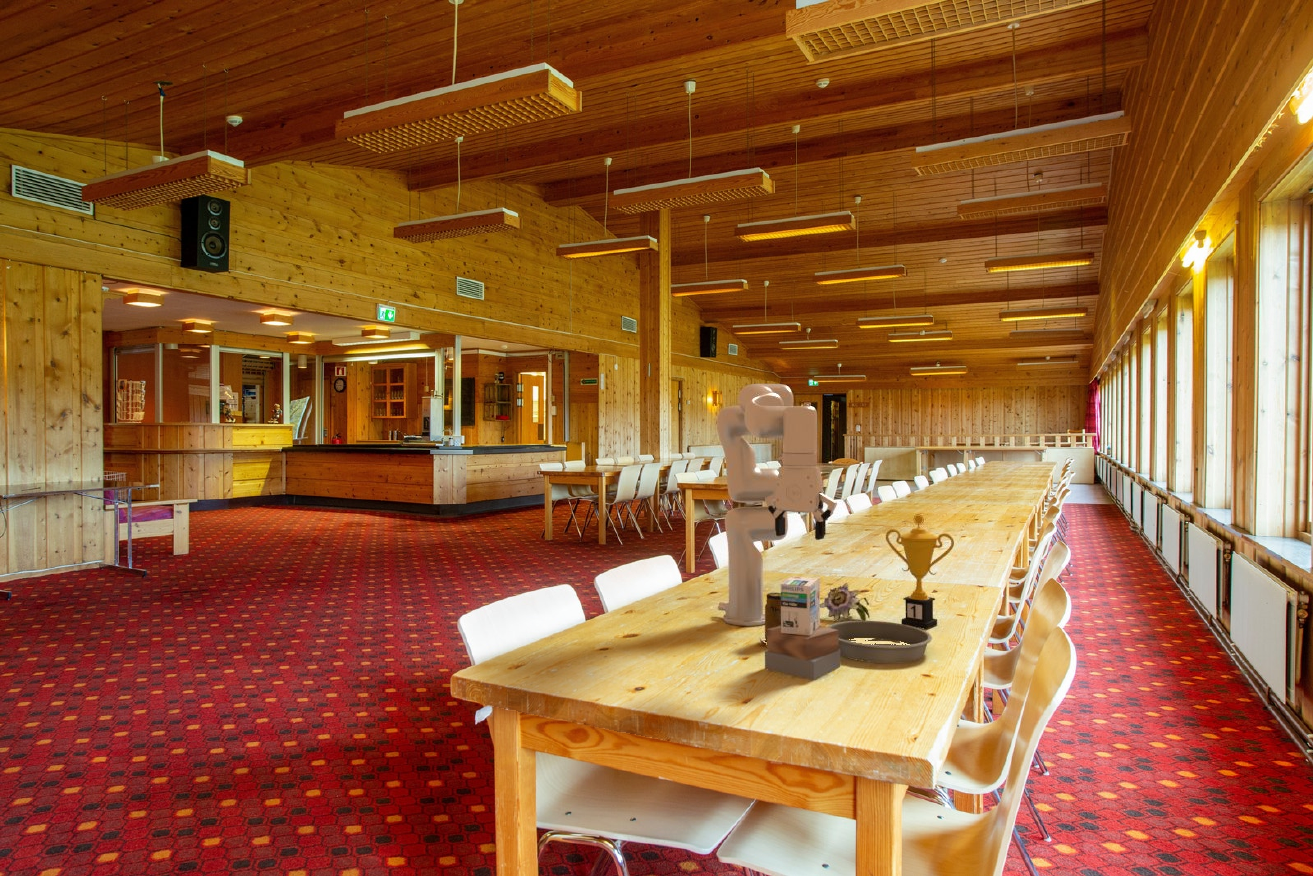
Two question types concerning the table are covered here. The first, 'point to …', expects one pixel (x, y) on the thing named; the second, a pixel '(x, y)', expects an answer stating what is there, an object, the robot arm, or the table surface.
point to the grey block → (802, 664)
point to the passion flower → (844, 603)
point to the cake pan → (880, 631)
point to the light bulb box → (800, 605)
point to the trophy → (919, 571)
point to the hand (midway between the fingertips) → (799, 537)
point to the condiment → (772, 612)
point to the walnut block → (803, 643)
